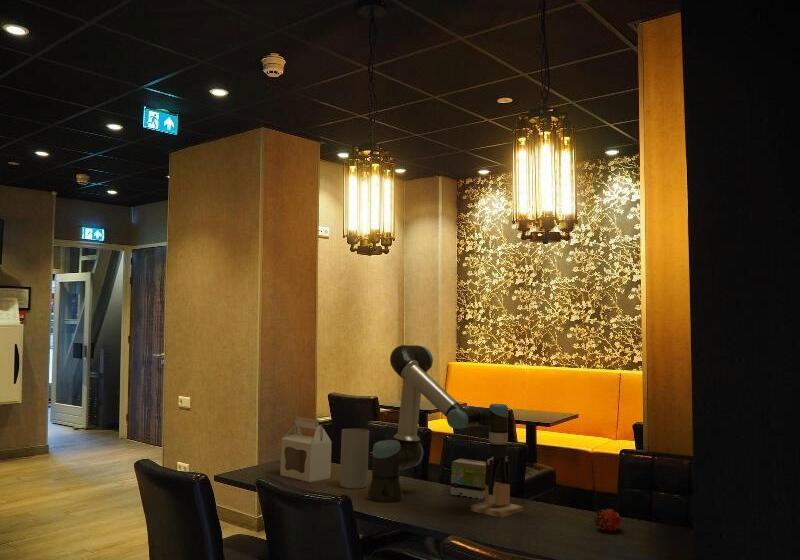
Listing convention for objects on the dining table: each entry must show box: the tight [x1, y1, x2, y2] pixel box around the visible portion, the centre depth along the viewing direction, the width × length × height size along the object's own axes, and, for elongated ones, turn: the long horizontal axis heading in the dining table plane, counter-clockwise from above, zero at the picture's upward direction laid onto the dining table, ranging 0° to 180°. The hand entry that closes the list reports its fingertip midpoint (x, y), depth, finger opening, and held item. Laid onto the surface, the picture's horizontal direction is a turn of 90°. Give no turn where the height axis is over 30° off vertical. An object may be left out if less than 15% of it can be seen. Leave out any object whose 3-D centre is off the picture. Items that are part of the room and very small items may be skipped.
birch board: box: [470, 501, 525, 519], centre depth 268 cm, size 15×15×2 cm
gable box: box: [279, 416, 333, 483], centre depth 325 cm, size 22×13×28 cm, turn 49°
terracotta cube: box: [484, 481, 511, 505], centre depth 268 cm, size 7×7×7 cm
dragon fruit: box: [594, 508, 622, 533], centre depth 244 cm, size 8×8×12 cm
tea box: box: [450, 458, 486, 500], centre depth 295 cm, size 15×10×15 cm, turn 62°
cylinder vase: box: [339, 428, 370, 490], centre depth 307 cm, size 12×12×25 cm
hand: (497, 501), depth 268 cm, fingers closed on terracotta cube, 7 cm apart
